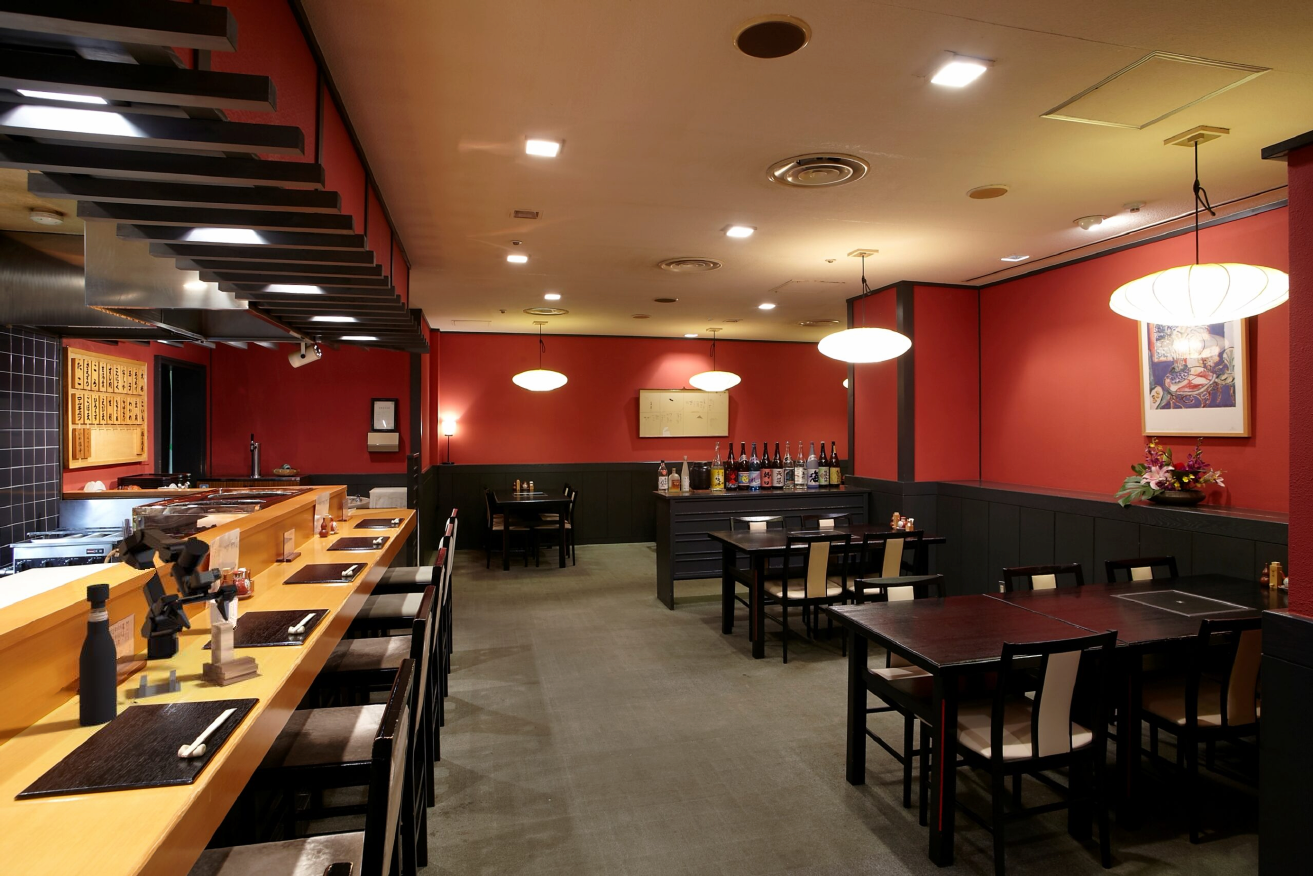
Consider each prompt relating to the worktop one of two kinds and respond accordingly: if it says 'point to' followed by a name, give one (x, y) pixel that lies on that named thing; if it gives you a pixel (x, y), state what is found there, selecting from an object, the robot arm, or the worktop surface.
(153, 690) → the grey holder
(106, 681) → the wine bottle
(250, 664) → the offcut stack
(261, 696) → the worktop surface
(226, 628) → the birch board
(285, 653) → the worktop surface
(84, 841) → the worktop surface
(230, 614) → the white cup
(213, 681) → the walnut rack
